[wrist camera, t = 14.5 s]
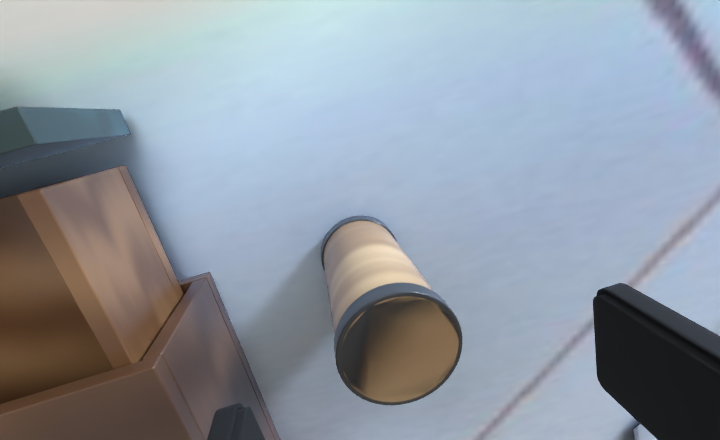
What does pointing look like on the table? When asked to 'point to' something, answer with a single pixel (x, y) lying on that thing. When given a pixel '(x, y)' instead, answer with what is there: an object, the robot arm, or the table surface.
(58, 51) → the table surface
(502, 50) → the table surface
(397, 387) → the tan cylindrical container
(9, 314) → the drawer
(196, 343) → the cabinet
